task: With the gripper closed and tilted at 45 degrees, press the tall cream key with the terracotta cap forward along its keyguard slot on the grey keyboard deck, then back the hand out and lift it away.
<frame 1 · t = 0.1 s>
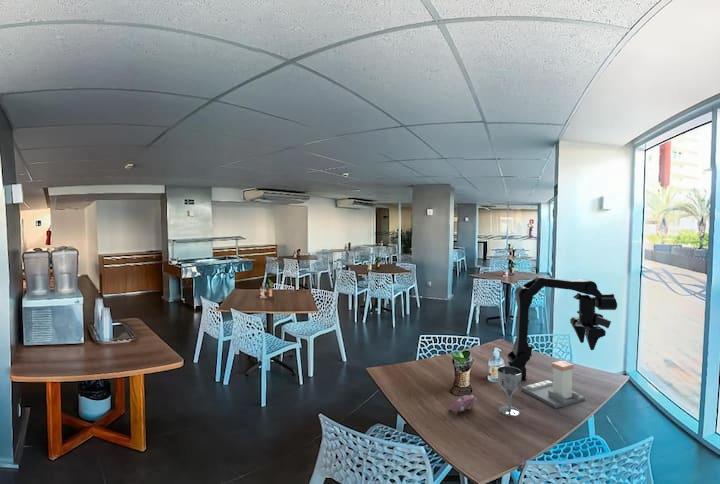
hand: (586, 346, 152), 15 cm above the table, tool pointing down, fingers open, 9 cm apart
keyboard deck: (552, 394, 140), on the table
key: (562, 379, 136), point 8 cm above the table, slide at 0.0 cm
wine glass: (509, 411, 129), on the table
pink toy figurine: (463, 410, 131), on the table
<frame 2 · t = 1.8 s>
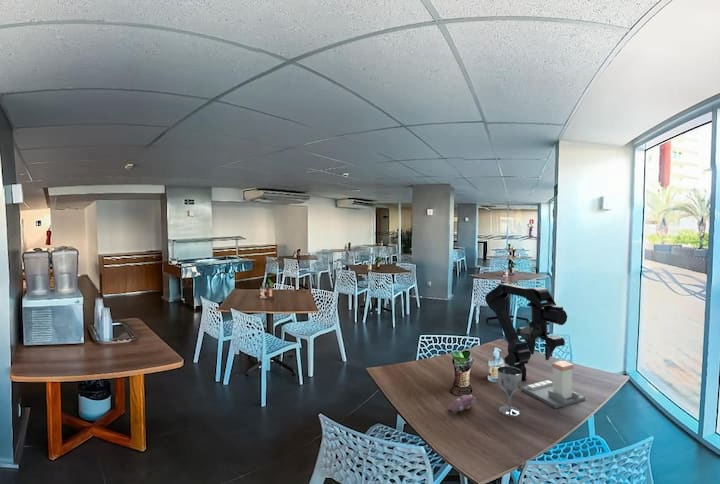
hand: (539, 357, 145), 13 cm above the table, tool pointing down, fingers open, 7 cm apart
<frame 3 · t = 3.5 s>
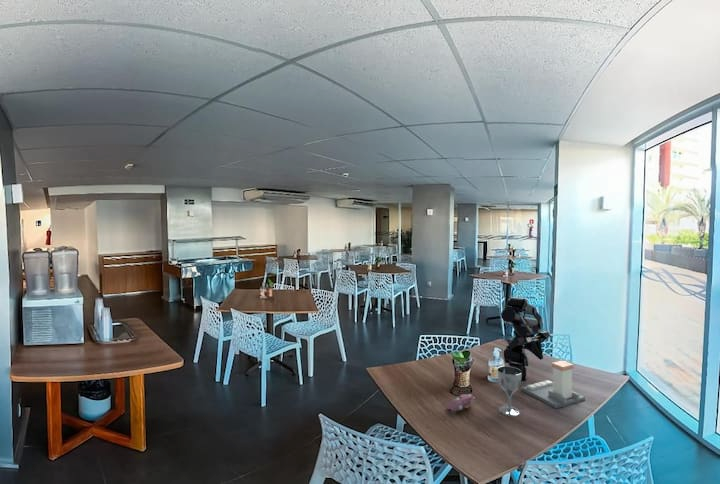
hand: (541, 359, 144), 12 cm above the table, tool tilted 45°, fingers closed
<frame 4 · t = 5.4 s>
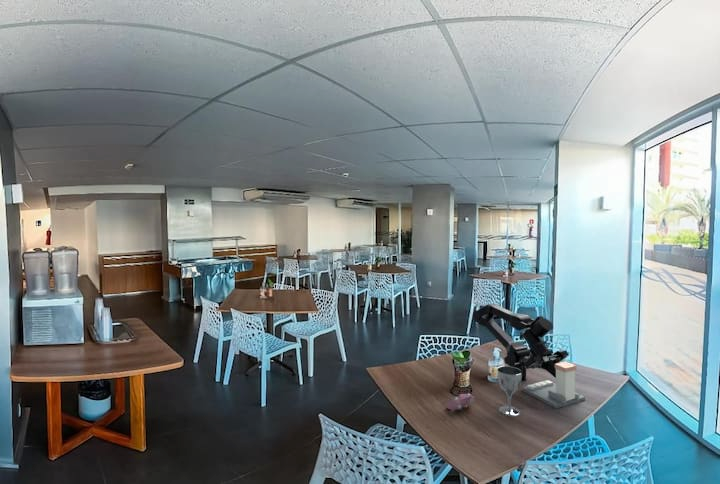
hand: (560, 379, 137), 7 cm above the table, tool tilted 45°, fingers closed, pressing on key
key: (565, 381, 135), point 8 cm above the table, slide at 1.3 cm, touching gripper
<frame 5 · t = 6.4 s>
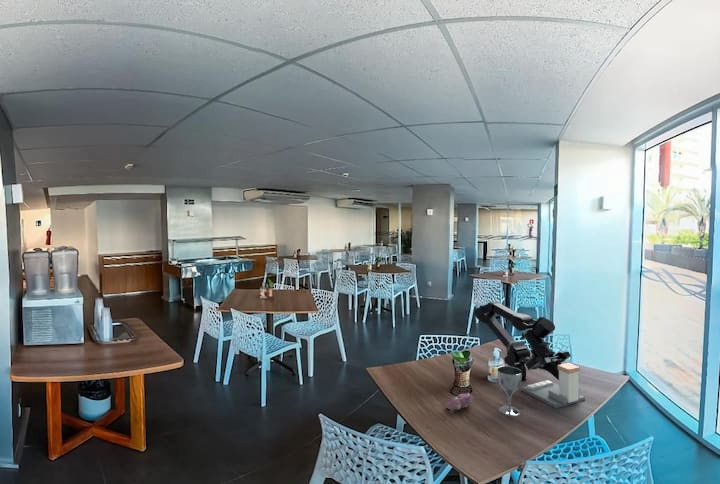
hand: (561, 381, 136), 7 cm above the table, tool tilted 45°, fingers closed
key: (568, 382, 133), point 8 cm above the table, slide at 2.5 cm
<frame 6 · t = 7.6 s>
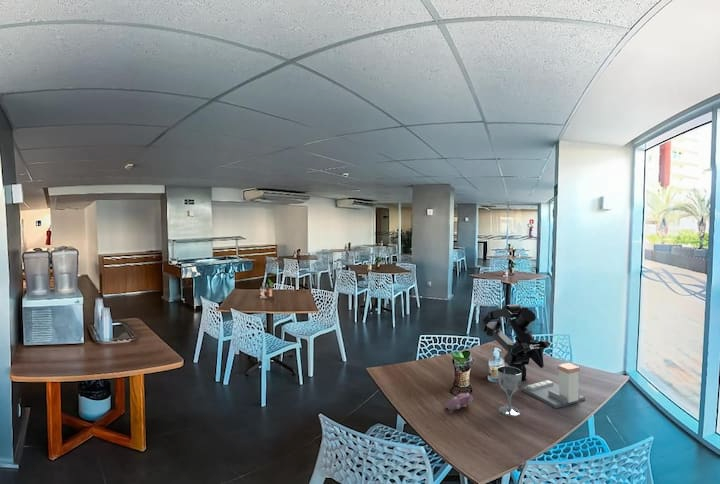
hand: (542, 367, 144), 9 cm above the table, tool tilted 40°, fingers closed
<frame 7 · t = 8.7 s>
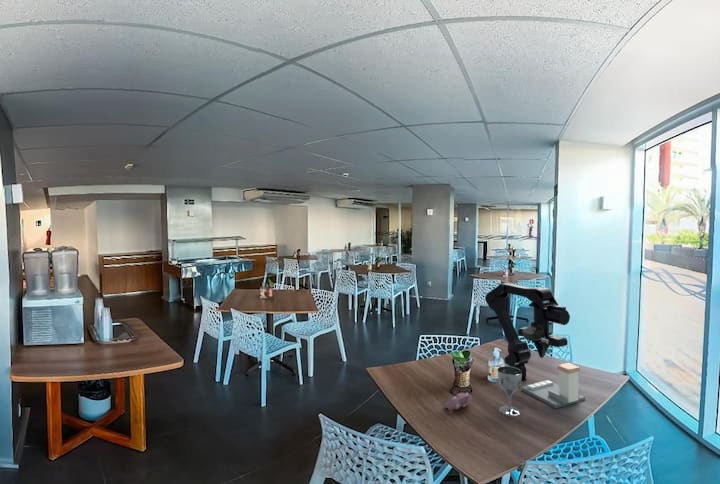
hand: (541, 357, 145), 13 cm above the table, tool pointing down, fingers closed
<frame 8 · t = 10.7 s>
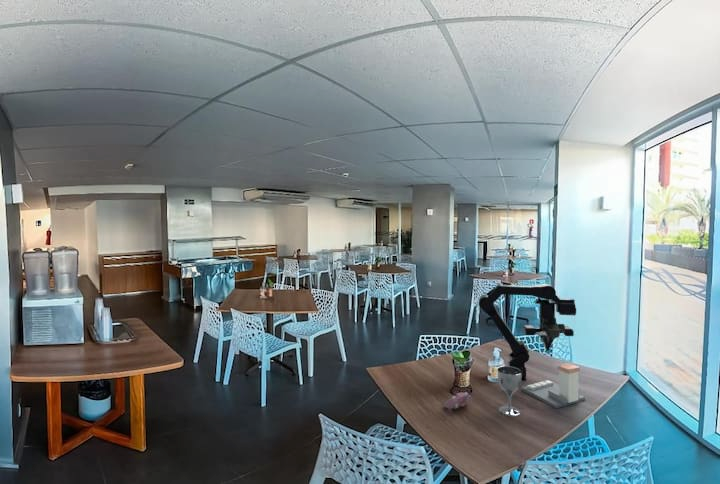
hand: (547, 350, 153), 13 cm above the table, tool pointing down, fingers closed
at the end: key slide at 2.5 cm; wine glass moved 0.2 cm from its start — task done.
